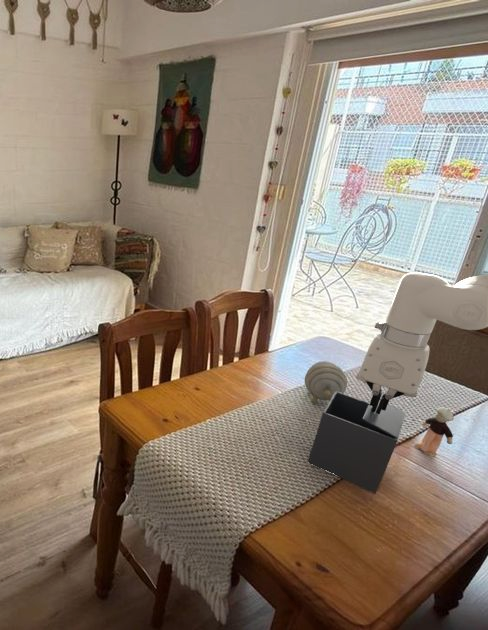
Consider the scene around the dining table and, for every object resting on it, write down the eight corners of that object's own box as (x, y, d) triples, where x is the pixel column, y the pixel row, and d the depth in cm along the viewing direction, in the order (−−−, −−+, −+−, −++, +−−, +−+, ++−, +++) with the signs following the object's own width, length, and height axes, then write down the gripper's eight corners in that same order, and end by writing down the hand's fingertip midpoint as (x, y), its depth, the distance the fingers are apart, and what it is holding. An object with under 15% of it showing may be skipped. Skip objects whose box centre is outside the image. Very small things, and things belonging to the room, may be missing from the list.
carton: (384, 465, 103) (405, 415, 97) (375, 494, 95) (397, 440, 89) (320, 439, 111) (335, 391, 105) (307, 463, 103) (322, 412, 97)
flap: (405, 413, 97) (405, 412, 97) (397, 438, 89) (398, 437, 89) (372, 396, 100) (372, 395, 100) (362, 419, 92) (362, 418, 92)
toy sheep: (335, 387, 133) (345, 355, 129) (347, 419, 119) (359, 385, 114) (297, 381, 136) (305, 349, 132) (304, 411, 122) (314, 377, 117)
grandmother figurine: (406, 443, 110) (424, 401, 105) (417, 440, 111) (435, 398, 106) (438, 464, 104) (458, 420, 99) (449, 461, 105) (470, 417, 100)
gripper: (358, 329, 90) (333, 403, 97) (451, 353, 81) (416, 433, 88) (365, 318, 95) (341, 389, 102) (453, 340, 86) (420, 417, 93)
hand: (376, 410), depth 95 cm, fingers closed
